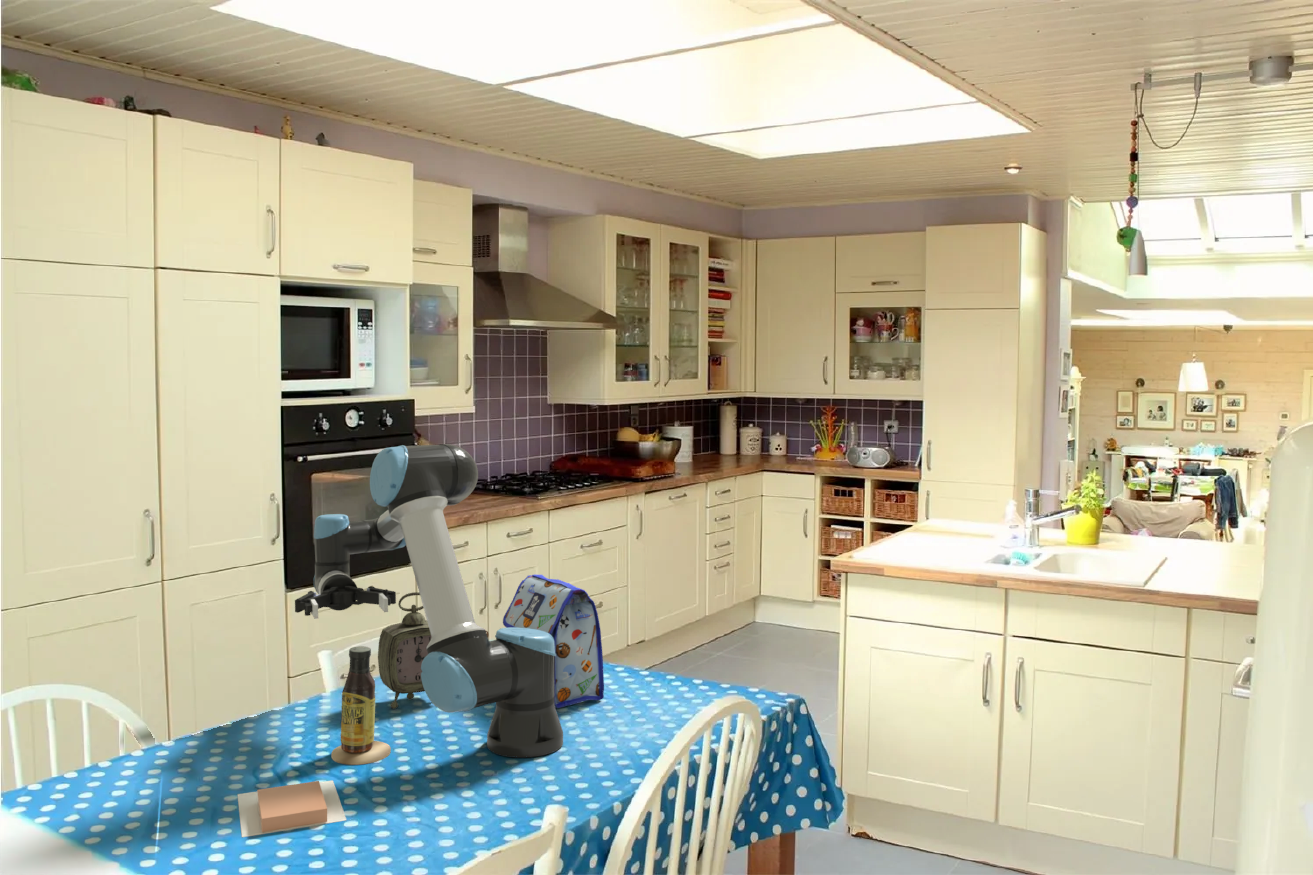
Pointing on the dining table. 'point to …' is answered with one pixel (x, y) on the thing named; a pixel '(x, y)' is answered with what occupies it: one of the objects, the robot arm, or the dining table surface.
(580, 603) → the lunch bag
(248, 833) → the white mat
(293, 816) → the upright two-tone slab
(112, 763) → the dining table surface
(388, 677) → the tabletop clock
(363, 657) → the sauce bottle
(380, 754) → the cork coaster
